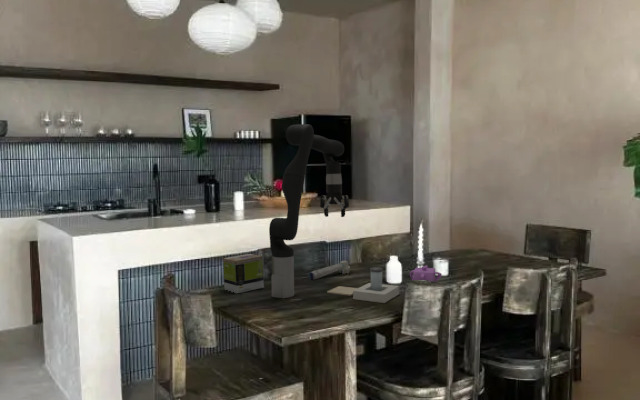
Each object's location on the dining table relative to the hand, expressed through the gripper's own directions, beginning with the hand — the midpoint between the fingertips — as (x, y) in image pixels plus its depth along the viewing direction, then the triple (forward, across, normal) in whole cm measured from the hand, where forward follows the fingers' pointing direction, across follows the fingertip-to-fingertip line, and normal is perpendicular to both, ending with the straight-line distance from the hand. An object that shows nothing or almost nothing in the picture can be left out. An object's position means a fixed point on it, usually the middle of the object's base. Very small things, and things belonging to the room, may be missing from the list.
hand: (334, 216), depth 293 cm
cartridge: (+31, +32, -29) cm, 53 cm away
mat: (+30, +16, -26) cm, 43 cm away
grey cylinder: (+29, -3, -1) cm, 30 cm away
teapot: (+31, +47, -7) cm, 57 cm away
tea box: (+30, -26, -41) cm, 57 cm away
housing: (+31, +32, -29) cm, 53 cm away
